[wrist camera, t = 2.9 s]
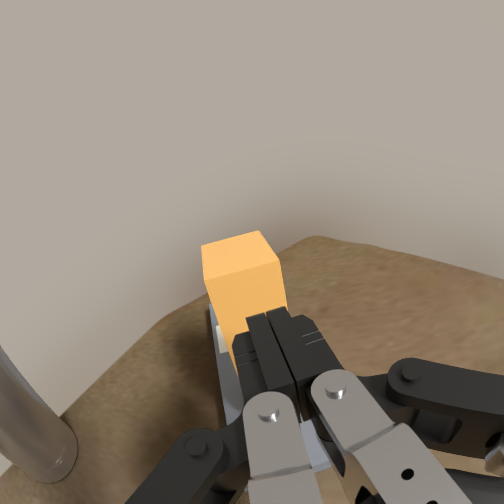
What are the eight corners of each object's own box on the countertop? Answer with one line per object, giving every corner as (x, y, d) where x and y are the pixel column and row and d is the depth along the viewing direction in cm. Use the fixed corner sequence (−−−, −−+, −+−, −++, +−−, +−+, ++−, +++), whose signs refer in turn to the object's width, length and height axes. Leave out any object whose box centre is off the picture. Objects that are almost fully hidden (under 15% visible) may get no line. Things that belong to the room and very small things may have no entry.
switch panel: (353, 457, 17) (356, 448, 16) (245, 491, 16) (239, 485, 15) (273, 298, 40) (271, 286, 39) (212, 315, 39) (208, 303, 38)
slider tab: (302, 407, 20) (279, 260, 15) (256, 421, 20) (204, 280, 14) (285, 368, 25) (258, 230, 19) (245, 380, 25) (201, 245, 19)
